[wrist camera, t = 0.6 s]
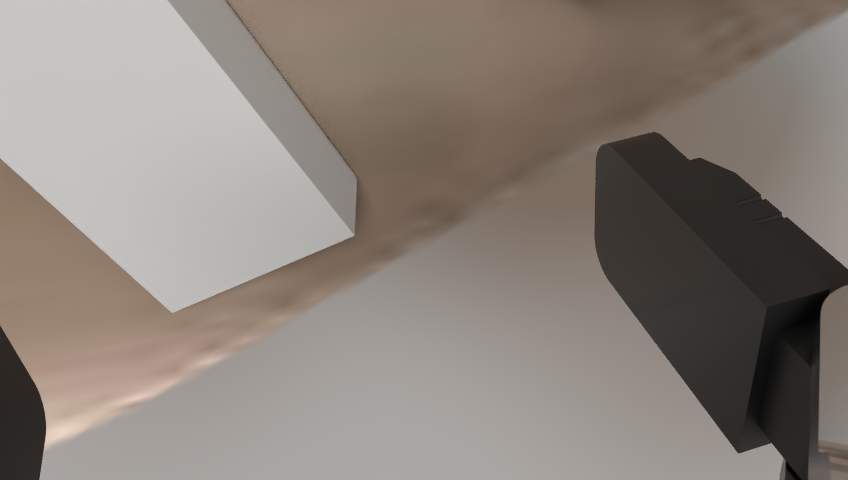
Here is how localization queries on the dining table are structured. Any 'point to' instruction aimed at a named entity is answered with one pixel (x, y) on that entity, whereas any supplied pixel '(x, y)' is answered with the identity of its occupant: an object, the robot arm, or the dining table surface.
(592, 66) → the dining table surface
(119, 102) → the decorative molding
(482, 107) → the dining table surface
